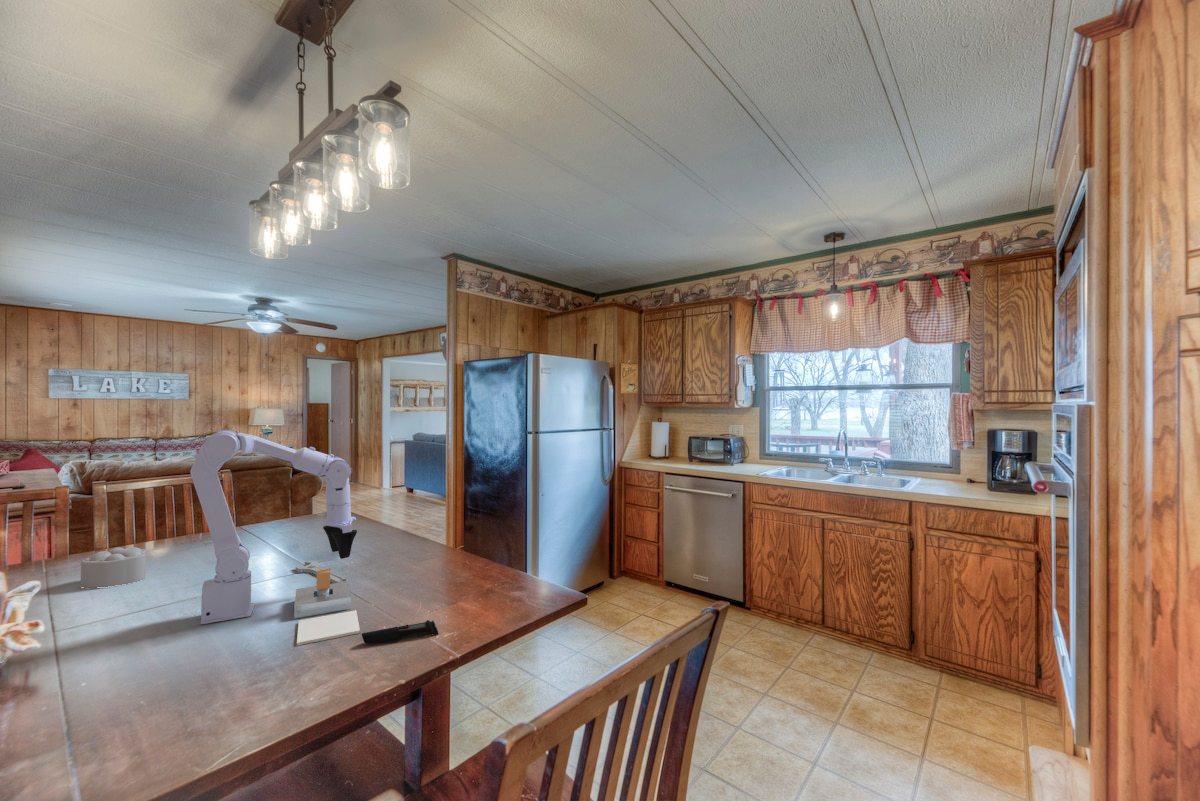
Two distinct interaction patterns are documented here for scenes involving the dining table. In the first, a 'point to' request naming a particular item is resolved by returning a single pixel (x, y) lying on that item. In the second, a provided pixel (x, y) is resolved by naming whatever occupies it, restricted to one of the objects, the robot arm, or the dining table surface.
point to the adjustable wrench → (313, 567)
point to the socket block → (322, 600)
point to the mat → (327, 627)
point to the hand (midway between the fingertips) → (340, 554)
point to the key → (323, 582)
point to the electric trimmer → (400, 633)
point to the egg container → (113, 567)
